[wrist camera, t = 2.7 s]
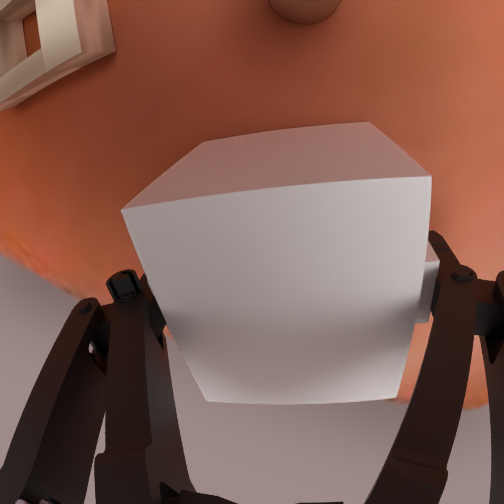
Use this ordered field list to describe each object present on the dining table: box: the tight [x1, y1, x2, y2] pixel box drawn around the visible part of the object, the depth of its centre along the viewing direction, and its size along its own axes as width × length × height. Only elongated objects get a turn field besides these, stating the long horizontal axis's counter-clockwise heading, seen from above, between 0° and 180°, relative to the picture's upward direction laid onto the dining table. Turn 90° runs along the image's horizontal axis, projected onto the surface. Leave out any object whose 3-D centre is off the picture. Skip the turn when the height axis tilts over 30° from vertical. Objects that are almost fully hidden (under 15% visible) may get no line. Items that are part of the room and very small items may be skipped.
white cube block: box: [121, 122, 432, 404], centre depth 13 cm, size 9×8×8 cm
